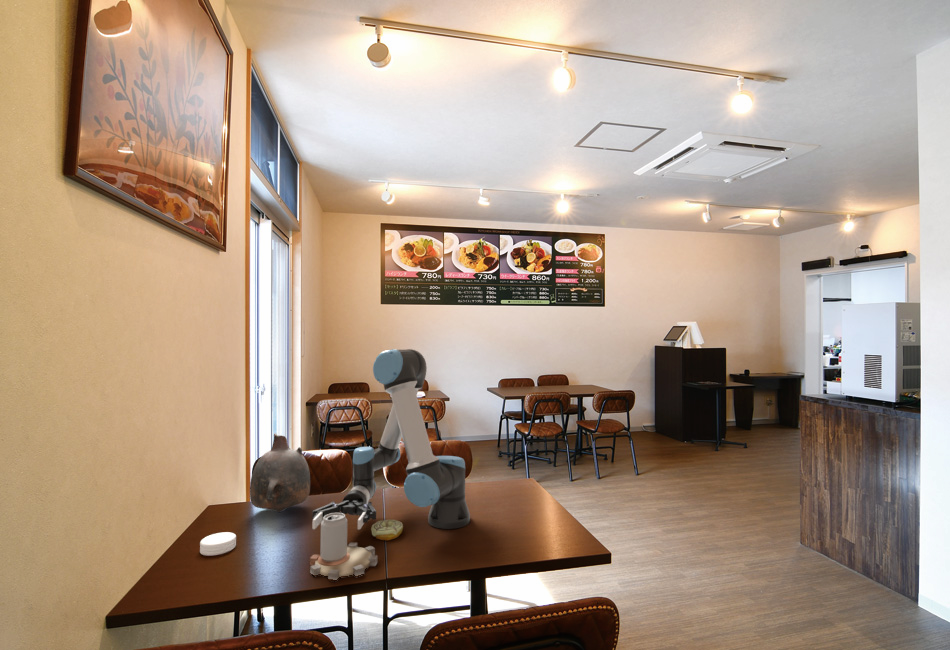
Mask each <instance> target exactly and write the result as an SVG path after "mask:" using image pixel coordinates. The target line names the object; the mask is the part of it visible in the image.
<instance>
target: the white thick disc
mask: <svg viewBox="0 0 950 650" xmlns="http://www.w3.org/2000/svg"><path fill="white" fill-rule="evenodd" d="M199 546H200V547H199V553H200V554H201V555H203V556H208V557H209V556H218V555H223V554H225V553H226V554H227V553H229V552H230V551H232V550H234V548H236V546H237V535H236V533H234V532H229V531H226V532H225V531H224V532H217V533H212V534H210V535H206V536H205V537H204V538H202V539H201V540H200V542H199Z"/></svg>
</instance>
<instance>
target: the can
mask: <svg viewBox="0 0 950 650" xmlns="http://www.w3.org/2000/svg"><path fill="white" fill-rule="evenodd" d="M347 547H348V519H347V517H346V514H343V513H330V514H327V515H325V516H324V517H323V521H322V522H321V523H320V548H319V549H320V551H319V552H320V554H319V555H320V557H321V558H322V559H323V560H324V561H326V562H336V561H339V560H341V559H343V558H344V556H346V554H347Z"/></svg>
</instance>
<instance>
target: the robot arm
mask: <svg viewBox="0 0 950 650" xmlns="http://www.w3.org/2000/svg"><path fill="white" fill-rule="evenodd" d="M372 372H373V377H374V379H375V380H376V381H377V382H379V383H380V384H381V385H383V388H384V392H385V393H386V394H389V395H390V397H391V401H392V405H391V408H390V410H389V411H390V412H389V415H388V418H387V421H386V424H385V426H384V430H383V432H382V435H381V438H380V442H379V443H378V448H375V449H374V448H373V447H372V446H360V447H357V448H355V449H354V451H353V454H352V488H351V489H350V490H349V491H348V492H347V494H346V495H345V496H344V497H343V499H342V501H341V502H339V503H336V502H335V501H331V502H330V503H328V504H326V505H323V506H320V507H318V508H316V509H314V510H312V511H311V513H312V514H311V516H312V517H311V519H312V526H311V527H312V530H315V529H317V528H318V527H319V526H320V525H321V522H322V521H323V517H324V516H325V515H327V514H330V513H343V514H345V515H350V516H359V517H358V519H357V530H361V529H362V527H363V525H364V524H365V523H366V524H367V523H368V522H369V521H370V520H374V521H375V520H376V519H377V510H376V508H375V507H374V506H373V502H372V501H370V500H371V499H372V498H373V497H374V495H375V494H376V490H377V483H376V481H375V471H379V470H380V469H383V468H386V467H389V466H392V465H394V464H395V463H397V462H399V460H400V459H401V449H400V443H401V441H402V442H403V445H404V448H405V449H404V451H405V453H406V457H407V461H408V463H407V466H406V468H405V471H406V475H407V476H406V478H405V480H404V483H403V491H404V494H405V497H406V498H407V500H408V501H409V502H410V503H411V504H414V505H415V506H416V507H419V508H427V507H430V509H429V513H428V516H427V519H428V524H429V525H430V526H431V527H434V528H437V529H442V530H452V529H455V530H456V529H460V528H463V527H465V526H467V525H469V524H470V523H471V514H470V510H469V507H468V505H467V504H468V503H467V502H466V462H465V461H466V460H464V458H462V457H459V456H454V455H434V454H433V450H432V447H431V443H430V438H429V435H428V432H427V428H426V425H425V422H424V417H423V414H422V410H421V406H420V403H419V400H418V393H419V390H421V389H422V388H423V386H424V383H425V380H426V376H427V361H426V358H425V357H424V356H423V354H422V353H421V352H419V351H418V350H415V349H412V348H409V349H395V348H392V349H388V350H383V351H381V352H380V353H379V354H378V355H377V357H376V358H375V360H374V362H373V366H372Z"/></svg>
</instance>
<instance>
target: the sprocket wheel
mask: <svg viewBox="0 0 950 650" xmlns="http://www.w3.org/2000/svg"><path fill="white" fill-rule="evenodd" d="M358 545H359V543H358V542H349V544H347V554H346V556H344V558H343V559H341V560H339V561H336V562H326V561H324V560H323V559H322V558H321V557H320V554H312V555H311V556H310V557H309V569H310V571H309V572H310V573H311V574H313V575H318V574H321V575H324V576H328V577H327V578H328V579H333V580H337V579H338V578H339V577H341V576H348V577H350V576H349V575H352V576H354V575H355V576H358V575H361V574H364V575H365V571H366V570H367V569H369V567H376V566H377V564H378V555H377V554H376V548H375V547H374V546H372V545H369V546H366V547H360V546H358ZM366 568H367V569H366ZM365 569H366V570H365ZM310 573H309V574H310ZM311 574H310V575H311ZM353 574H354V575H353ZM321 575H320V576H321ZM318 576H319V575H318ZM324 576H323V577H324ZM355 576H354V577H355ZM361 576H362V575H361ZM341 578H342V577H341ZM339 579H340V578H339ZM339 579H338V580H339ZM338 580H337V581H338Z"/></svg>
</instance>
